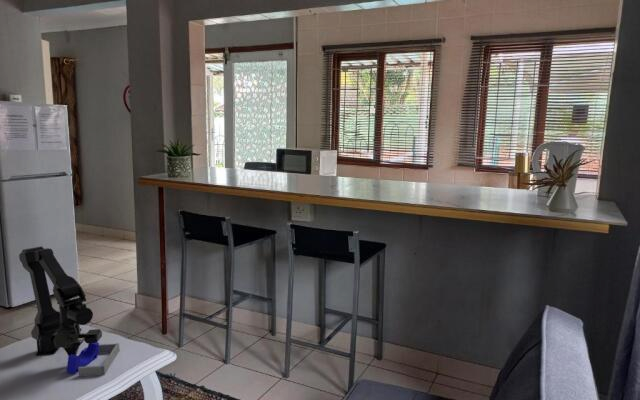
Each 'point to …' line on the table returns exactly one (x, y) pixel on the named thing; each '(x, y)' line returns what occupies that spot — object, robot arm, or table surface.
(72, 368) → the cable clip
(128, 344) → the table surface
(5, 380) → the table surface
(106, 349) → the grey u-shaped bracket
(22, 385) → the table surface
